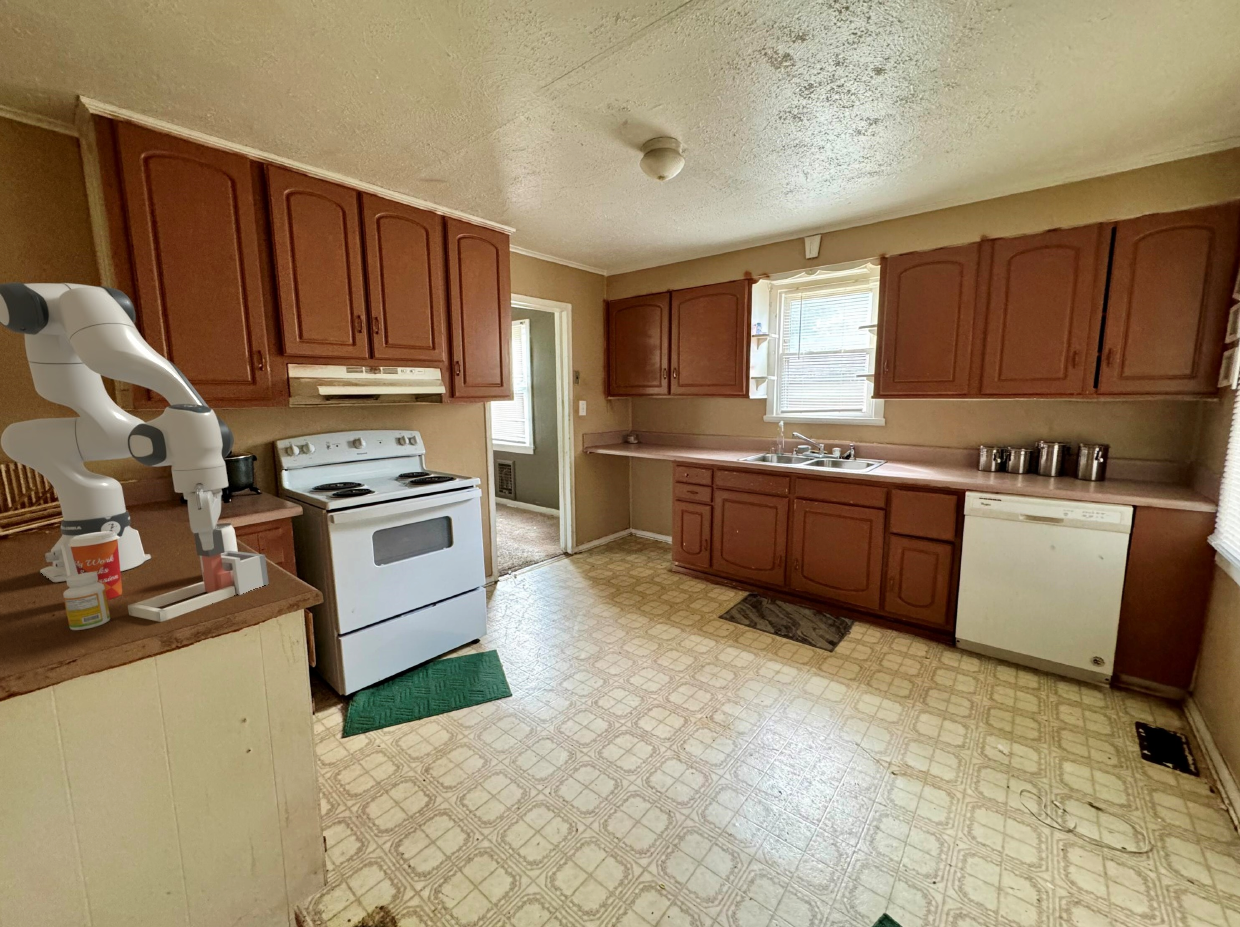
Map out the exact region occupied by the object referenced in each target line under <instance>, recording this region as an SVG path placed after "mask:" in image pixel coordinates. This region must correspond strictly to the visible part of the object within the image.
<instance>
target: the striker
mask: <svg viewBox="0 0 1240 927" xmlns="http://www.w3.org/2000/svg"><path fill="white" fill-rule="evenodd" d="M193 534H194V541H195V549H196V554H197V556H199V557H200V556H202V561H203V568H204V572H203V575H202V580H203V579H204V585H205V591H206V594H208V593H211V592H214V591H217V590H220V589H223V588H226V587H229V586H232V579H231V572H230V571H223V566H222V559H221V553H225V551H224V544H223V538H222V531H221V530H215V529H214V530H212V535H213V542H214V548H213V549H212V550H203V548H202V543H201V540H200V537H199V533H193Z"/></svg>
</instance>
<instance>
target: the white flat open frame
mask: <svg viewBox="0 0 1240 927" xmlns="http://www.w3.org/2000/svg"><path fill="white" fill-rule="evenodd" d="M205 592H206V594H202V593H205ZM200 594H202V595H200ZM196 595H199V596H196ZM234 595H235V596H236V595H237V594H236V588H235V587H234V586H229V587H226V588H223V589H220V590H217V591H214V592H211V593H207V591H205V585H204V582H203V581H201V582H198V583H194V584H191V585H189V586H186V587H185V586H184V587H181V588H180V589H175V590H173V591H169V592H167V593H164V594H160V595H156V596H154V597H149V598H147V599H144V600H141V601H138V602H135V603H132V604H128V605H127V610H128V615H129V616H132V617H137V618H141V619H146V620H149V621H150V620H151V621H155V622H159V623H162V622H165V621H168V620H172V619H174V618H176V617H179V616H181V615H184V614H188V613H190V612H193V611H197V610H198V609H201V608H205V607H207V606H210V605H212V603H213V604H216V603H218V602H221V601H224V600H226V599H230V598H231V597H235V596H234ZM193 596H196V597H193ZM191 597H193V598H191ZM188 598H191V599H188ZM184 599H188V600H185V601H182V602H179V603H175V602H178V601H181V600H184ZM172 603H175V604H173V605H171V604H172ZM169 604H170V605H169ZM167 605H169V606H167ZM164 606H167V607H165V608H161V607H164Z"/></svg>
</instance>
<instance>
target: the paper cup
mask: <svg viewBox="0 0 1240 927" xmlns="http://www.w3.org/2000/svg"><path fill="white" fill-rule="evenodd" d="M119 538H120V537H119V536H117V534H115V532H113V531H104V532H95V533H89V534H84V535H79V536H75V537H74V538H72V539H70V543H69V544H68V546H70V547H71V551H72V554H73V559H74V562H75V565H76V569H77V572H78V574H82V573H89V572H96V573H97V577H98V580H97V583H102V584H103V585H104V587H105V592H106V597H107V601H109V600H111V599H115V598H117V597H120V596H122V594H123V587H122V586H123V585H122V575H121V574H122V573H121V572H122V571H120V561H119V551H118V540H117V539H119Z"/></svg>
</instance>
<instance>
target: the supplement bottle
mask: <svg viewBox="0 0 1240 927" xmlns="http://www.w3.org/2000/svg"><path fill="white" fill-rule="evenodd" d="M97 580H98V577H97V573H96V572H89V573H82V574H78V575H74V576H71V577H68V578H67V579H66V581H65V582H66V586H67V587H69V588H68V589H66V590H64V592H63V593H62V594H63V596H62V597H63V600H64V606H65V612H66V616H67V621H68V622H67V623H68V626H69V629H70V630H72V631H80V630H81V631H82V630H88V629H92V628H97V627H99V626H101V625H104V624H106V623H107V622H109V621H110V620H111V614H110V608H109V604H108V603H109V602H108V600H107V597H106V592H105V587H104V585H103V584H102V583H97Z"/></svg>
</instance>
